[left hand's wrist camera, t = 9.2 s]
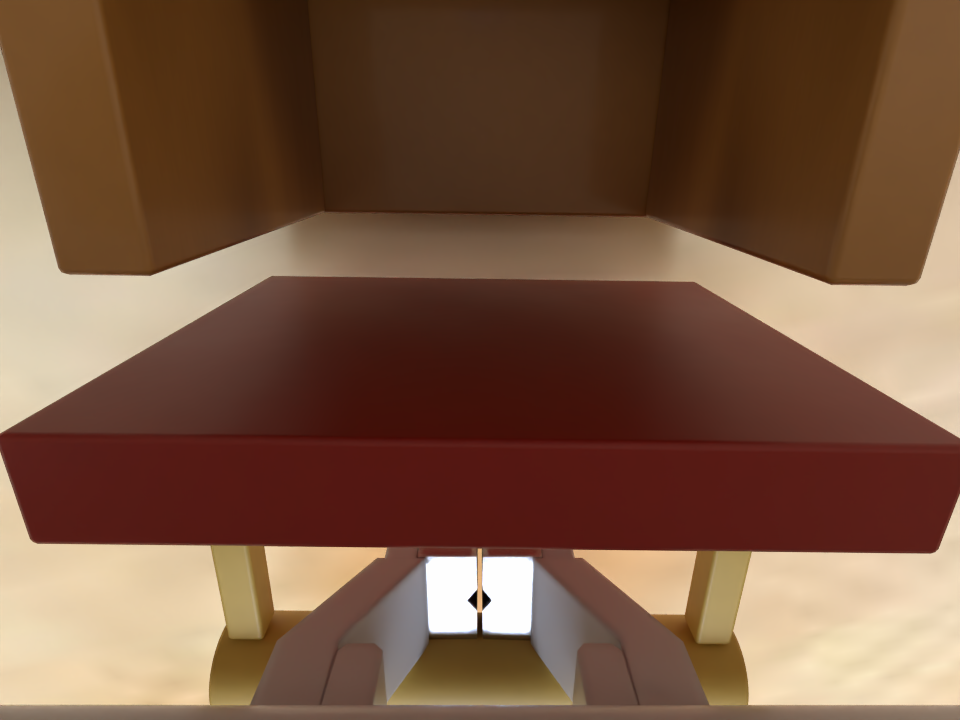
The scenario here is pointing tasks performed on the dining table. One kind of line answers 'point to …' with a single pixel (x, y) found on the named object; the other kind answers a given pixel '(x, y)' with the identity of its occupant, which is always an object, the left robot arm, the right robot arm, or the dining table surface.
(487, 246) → the dining table surface
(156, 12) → the drawer
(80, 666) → the dining table surface
